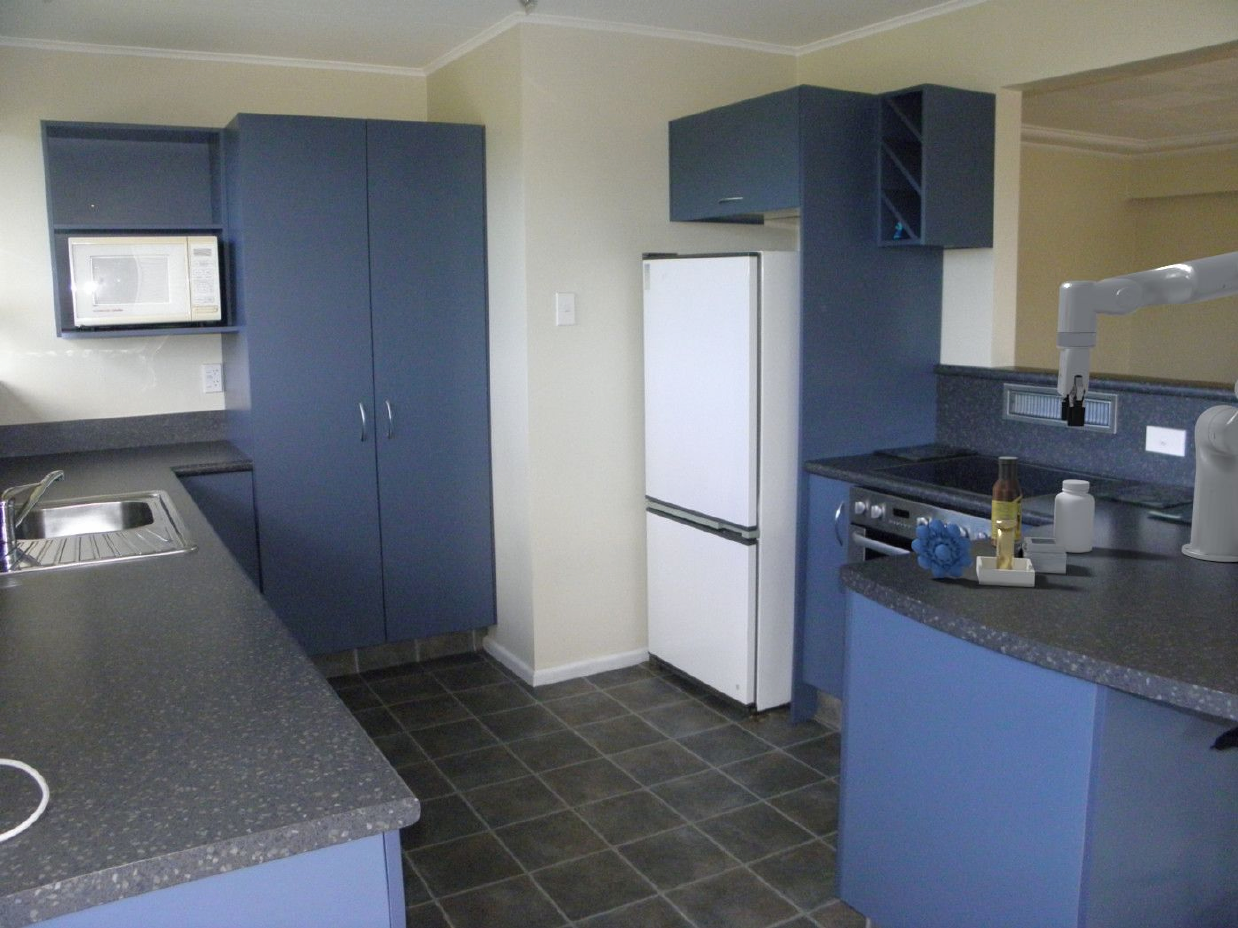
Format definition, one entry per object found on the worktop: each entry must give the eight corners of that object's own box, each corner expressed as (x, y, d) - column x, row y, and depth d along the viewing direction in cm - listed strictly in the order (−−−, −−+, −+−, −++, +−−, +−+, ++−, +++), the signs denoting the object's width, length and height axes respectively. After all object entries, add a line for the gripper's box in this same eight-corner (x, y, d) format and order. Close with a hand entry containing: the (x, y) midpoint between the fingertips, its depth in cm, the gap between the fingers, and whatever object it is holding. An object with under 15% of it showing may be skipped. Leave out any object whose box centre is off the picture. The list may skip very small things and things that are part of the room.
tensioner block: (1060, 563, 219) (1061, 537, 218) (1065, 573, 211) (1067, 546, 210) (994, 560, 222) (995, 534, 221) (996, 570, 214) (997, 544, 213)
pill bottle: (1090, 545, 232) (1094, 478, 230) (1093, 554, 225) (1097, 485, 222) (1051, 543, 235) (1054, 477, 232) (1053, 552, 227) (1057, 484, 225)
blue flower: (911, 582, 207) (913, 523, 205) (910, 573, 213) (911, 515, 211) (973, 585, 204) (976, 525, 202) (970, 576, 211) (972, 517, 209)
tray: (1028, 573, 212) (1029, 558, 211) (1034, 587, 202) (1034, 571, 202) (976, 570, 214) (976, 556, 214) (979, 584, 205) (979, 569, 204)
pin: (993, 572, 211) (994, 517, 209) (1014, 572, 210) (1015, 517, 208) (995, 577, 207) (996, 522, 205) (1016, 578, 206) (1018, 522, 204)
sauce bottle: (1022, 550, 230) (1026, 460, 226) (992, 549, 231) (996, 460, 228) (1017, 542, 236) (1021, 455, 233) (988, 542, 237) (991, 455, 234)
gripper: (1052, 339, 227) (1048, 417, 230) (1062, 343, 211) (1058, 428, 214) (1089, 338, 225) (1085, 418, 228) (1103, 343, 209) (1098, 429, 212)
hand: (1072, 423), depth 221 cm, fingers open, 9 cm apart
